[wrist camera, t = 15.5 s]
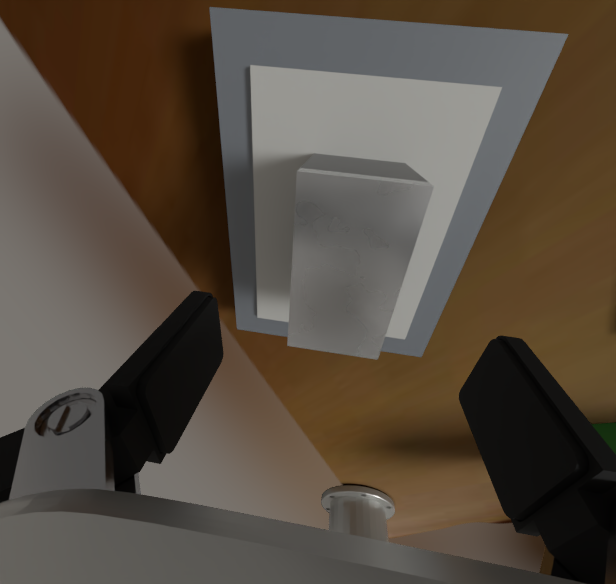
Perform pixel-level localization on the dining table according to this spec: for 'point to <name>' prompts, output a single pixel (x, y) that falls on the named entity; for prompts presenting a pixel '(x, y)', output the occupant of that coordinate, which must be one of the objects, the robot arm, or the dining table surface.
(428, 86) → the stand
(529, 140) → the dining table surface
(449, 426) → the dining table surface
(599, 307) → the dining table surface
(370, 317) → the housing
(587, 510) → the robot arm
